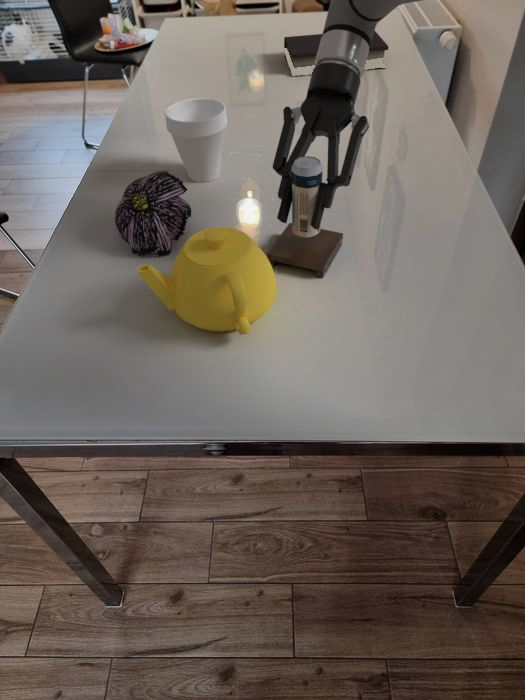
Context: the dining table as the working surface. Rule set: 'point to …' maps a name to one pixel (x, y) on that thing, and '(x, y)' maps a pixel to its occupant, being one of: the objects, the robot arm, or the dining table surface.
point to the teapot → (217, 281)
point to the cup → (198, 135)
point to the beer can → (305, 194)
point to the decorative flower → (152, 213)
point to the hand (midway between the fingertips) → (298, 223)
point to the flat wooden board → (306, 250)
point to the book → (308, 45)
